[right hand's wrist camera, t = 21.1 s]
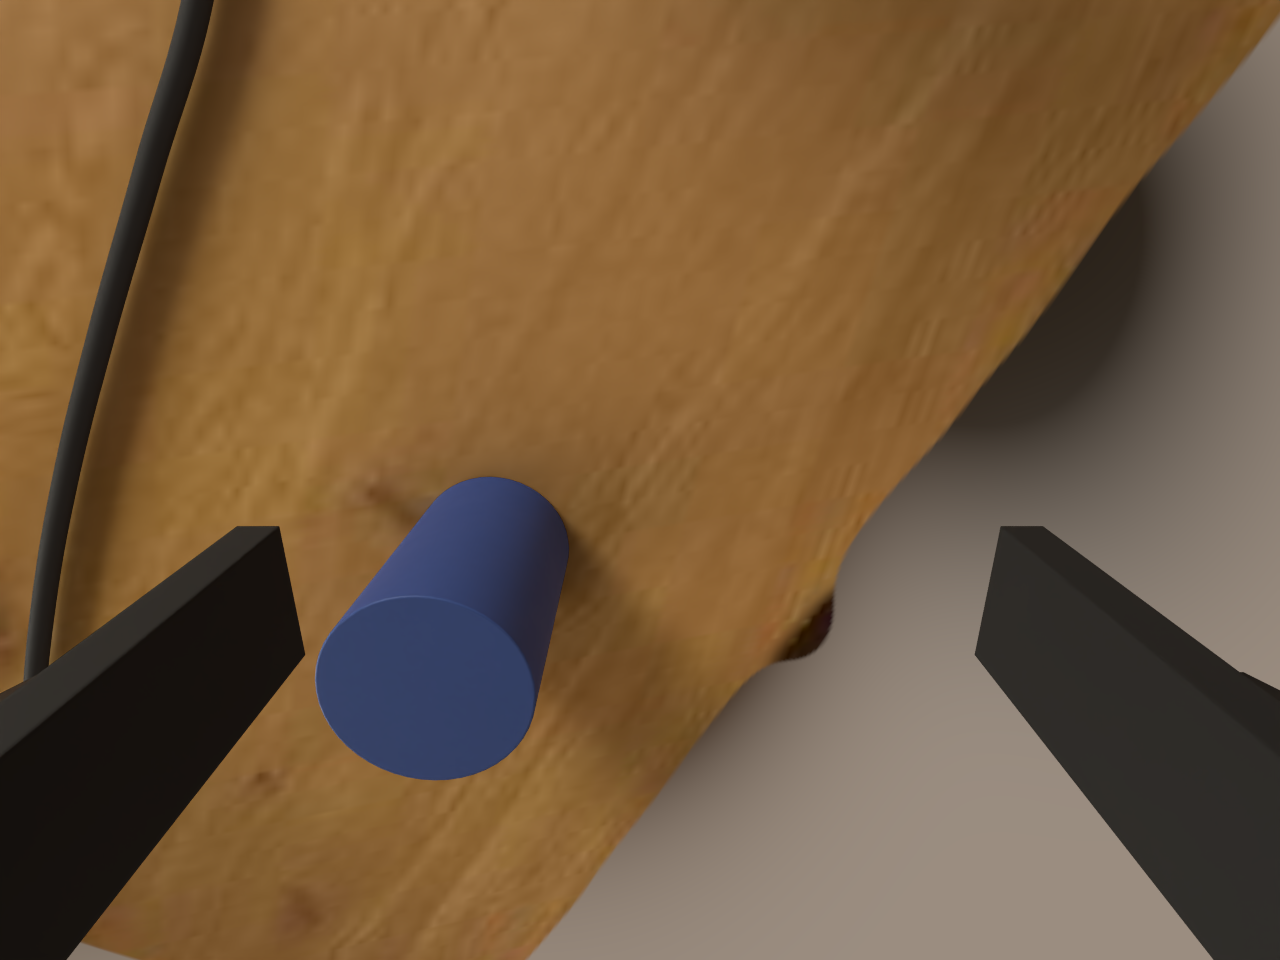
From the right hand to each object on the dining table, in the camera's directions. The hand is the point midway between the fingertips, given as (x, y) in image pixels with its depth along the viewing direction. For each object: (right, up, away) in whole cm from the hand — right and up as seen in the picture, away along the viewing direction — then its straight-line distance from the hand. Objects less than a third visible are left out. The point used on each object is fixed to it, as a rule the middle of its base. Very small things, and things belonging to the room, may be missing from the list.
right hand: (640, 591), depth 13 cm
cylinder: (-7, -1, +22) cm, 24 cm away
